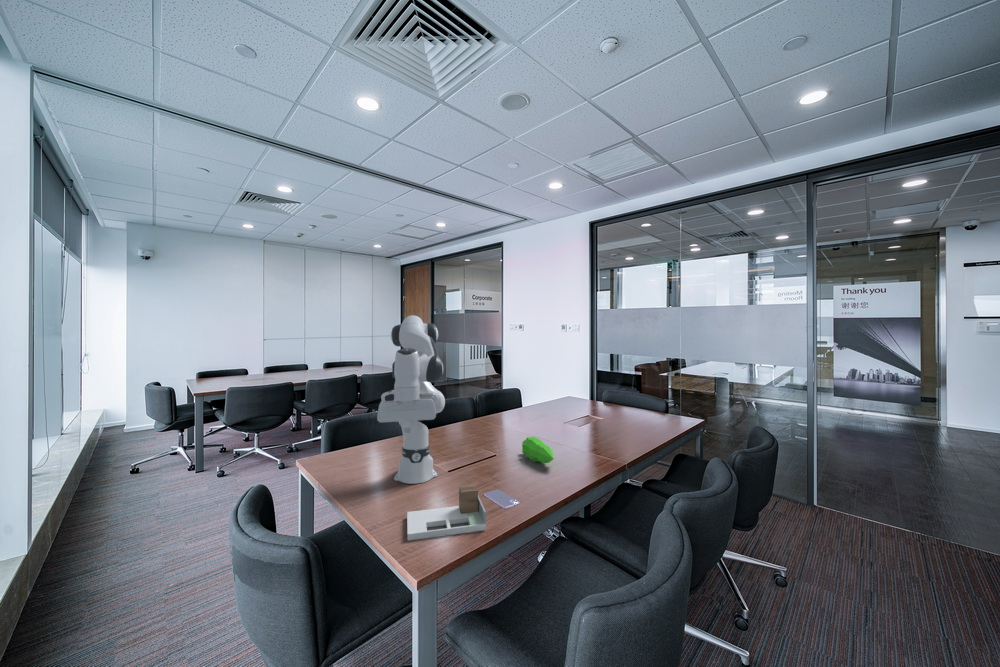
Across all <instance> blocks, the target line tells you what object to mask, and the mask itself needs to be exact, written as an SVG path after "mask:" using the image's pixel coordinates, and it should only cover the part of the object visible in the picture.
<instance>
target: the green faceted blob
mask: <svg viewBox="0 0 1000 667" xmlns="http://www.w3.org/2000/svg"><path fill="white" fill-rule="evenodd" d="M521 447H522V448H521V450H522V451H521V452H522V453H523V454H524V455H525V457H526V458H529V459H530V460H532V462H534V463H536V462H537V461H538V462H540V463H541V464H544V465H545V464H549V463H551V462H552V461H553V460H554V452H553V449H552V448H551V447H550V446H549V445H547V444H546V443H544V442H543V440H541V439H540V438H538V437H536V436H527V438H525V439H523V441H522V446H521Z"/></svg>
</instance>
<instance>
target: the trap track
mask: <svg viewBox="0 0 1000 667" xmlns="http://www.w3.org/2000/svg"><path fill="white" fill-rule="evenodd" d="M406 514H407V515H406V518H407V519H406V520H407V523H406V524H407V528H406V529H407V533H406V534H407V535H406V536H407V541H415V540H417V541H418V540H424V539H430V538H437V537H439V538H440V537H445V536H452V535H458V534H466V533H474V532H475V533H476V532H481V531H487V511H486V508H485V507H484V504H483V502H482V500H481V497H480V495H479V494H478V512H472V513H464V514H461V512H460V509H459V505H455V506H454V505H453V506H446V507H439V508H438V507H437V508H430V509H420V510H415V511H413V510H412V511H407V512H406Z"/></svg>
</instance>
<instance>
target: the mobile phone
mask: <svg viewBox="0 0 1000 667" xmlns="http://www.w3.org/2000/svg"><path fill="white" fill-rule="evenodd" d="M483 495H484V496H485V497H486V498H488V499H489V500H490V501H492V502H494V503H495V504H496V505H498V506H500V507H501V508H503V509H508V508H512V507H514V505H515V506H517V504H518V505H520V501H518V500H517V499H515V498H513V497H512V496H510V494H508V493H506V492H503V491H502V490H501V489H494V490H491V491H487V492H484V494H483Z"/></svg>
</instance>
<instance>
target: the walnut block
mask: <svg viewBox="0 0 1000 667" xmlns="http://www.w3.org/2000/svg"><path fill="white" fill-rule="evenodd" d="M478 495H479V490H478V487H477V484H470V485H468V484H467V485H461V486H458V501H459V502H458V506H459V509H460V512H461V514H464V513H472V512H478Z"/></svg>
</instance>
